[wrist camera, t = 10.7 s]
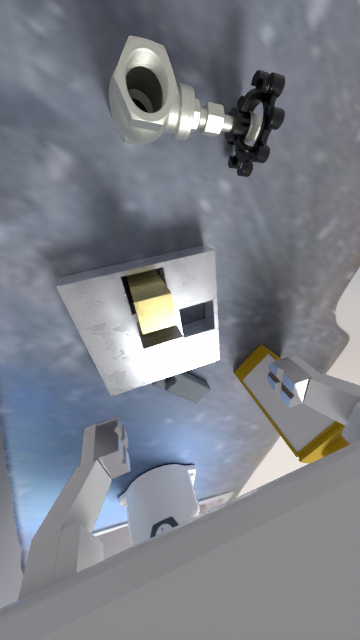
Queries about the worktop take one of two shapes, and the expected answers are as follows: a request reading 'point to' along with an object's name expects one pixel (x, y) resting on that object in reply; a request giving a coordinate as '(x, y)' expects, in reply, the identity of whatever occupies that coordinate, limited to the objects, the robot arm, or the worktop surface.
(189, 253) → the square plinth with cube
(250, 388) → the soap bottle
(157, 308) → the yellow rectangular block
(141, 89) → the valve
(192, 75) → the worktop surface
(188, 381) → the bracket
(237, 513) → the robot arm
